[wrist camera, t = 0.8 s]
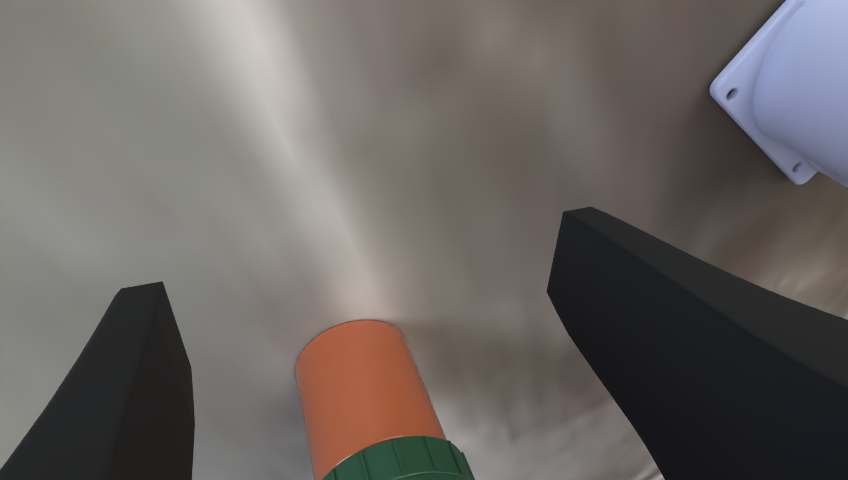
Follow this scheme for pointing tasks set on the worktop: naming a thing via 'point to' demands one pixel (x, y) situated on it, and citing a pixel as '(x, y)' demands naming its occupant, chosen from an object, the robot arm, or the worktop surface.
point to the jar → (360, 392)
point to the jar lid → (405, 461)
